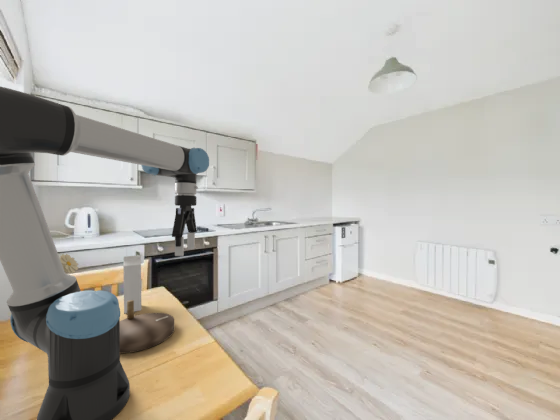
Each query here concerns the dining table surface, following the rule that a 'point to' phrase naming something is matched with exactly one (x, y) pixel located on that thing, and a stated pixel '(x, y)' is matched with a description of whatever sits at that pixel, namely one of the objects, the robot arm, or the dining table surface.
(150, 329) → the turntable
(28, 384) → the dining table surface
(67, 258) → the flower in vase
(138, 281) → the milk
